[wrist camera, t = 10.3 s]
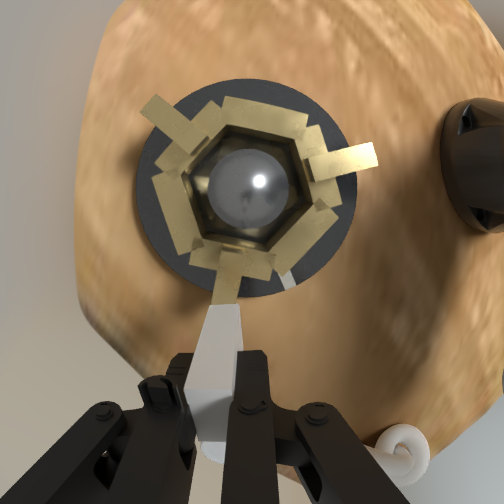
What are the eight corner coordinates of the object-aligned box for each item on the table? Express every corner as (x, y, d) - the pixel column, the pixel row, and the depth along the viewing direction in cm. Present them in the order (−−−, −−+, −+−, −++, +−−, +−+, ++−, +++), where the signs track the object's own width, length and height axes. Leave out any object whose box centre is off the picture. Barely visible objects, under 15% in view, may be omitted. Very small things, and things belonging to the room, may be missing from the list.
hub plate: (322, 70, 21) (327, 63, 19) (365, 262, 25) (372, 268, 23) (123, 119, 21) (115, 115, 20) (176, 309, 26) (172, 317, 24)
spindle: (267, 154, 23) (278, 141, 15) (280, 207, 24) (296, 218, 16) (212, 167, 23) (198, 160, 16) (226, 220, 24) (219, 237, 17)
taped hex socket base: (165, 97, 20) (148, 79, 15) (359, 141, 21) (384, 133, 16) (133, 272, 23) (112, 291, 18) (315, 309, 24) (329, 335, 20)
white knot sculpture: (415, 400, 30) (444, 443, 22) (415, 441, 33) (435, 477, 24) (340, 435, 31) (358, 485, 22) (352, 470, 34) (366, 510, 25)
